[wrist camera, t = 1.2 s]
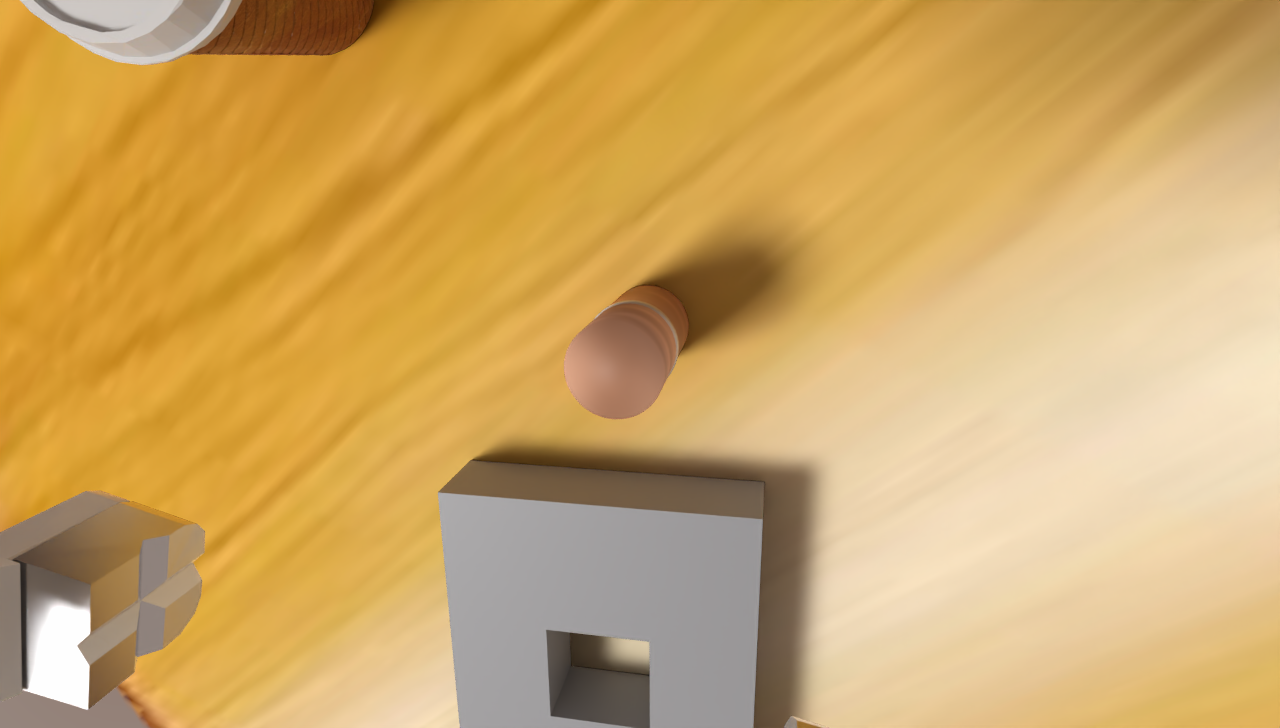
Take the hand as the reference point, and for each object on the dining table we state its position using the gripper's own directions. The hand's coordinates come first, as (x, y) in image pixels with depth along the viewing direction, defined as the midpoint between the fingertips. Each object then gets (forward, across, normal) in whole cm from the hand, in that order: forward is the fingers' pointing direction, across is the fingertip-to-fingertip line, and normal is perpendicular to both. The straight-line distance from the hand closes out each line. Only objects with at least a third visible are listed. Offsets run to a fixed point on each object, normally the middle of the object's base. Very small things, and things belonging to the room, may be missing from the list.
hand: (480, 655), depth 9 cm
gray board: (+27, -2, +20) cm, 33 cm away
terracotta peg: (+27, +1, +2) cm, 27 cm away
